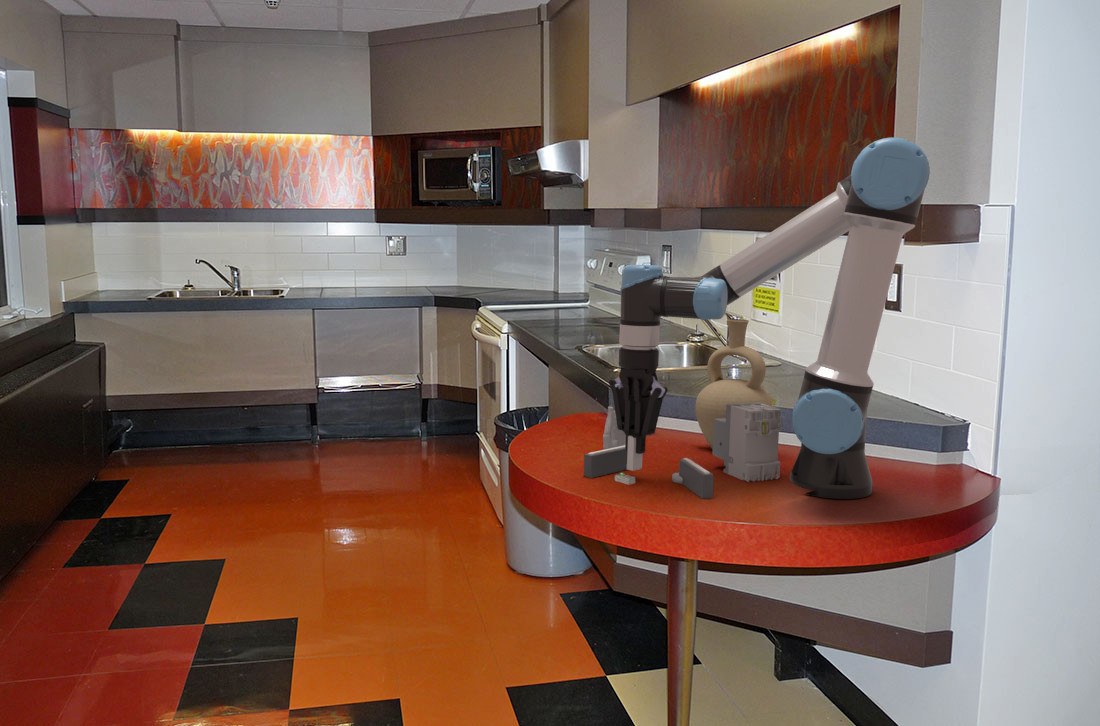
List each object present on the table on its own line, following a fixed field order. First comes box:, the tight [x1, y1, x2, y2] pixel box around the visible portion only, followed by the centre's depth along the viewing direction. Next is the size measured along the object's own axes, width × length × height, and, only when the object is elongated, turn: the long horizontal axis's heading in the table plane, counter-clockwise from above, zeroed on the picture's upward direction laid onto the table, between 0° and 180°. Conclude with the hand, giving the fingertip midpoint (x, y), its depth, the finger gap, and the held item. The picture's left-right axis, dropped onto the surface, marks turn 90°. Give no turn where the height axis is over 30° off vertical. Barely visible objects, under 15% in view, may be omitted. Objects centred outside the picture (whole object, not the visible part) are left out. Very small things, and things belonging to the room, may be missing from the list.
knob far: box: [583, 445, 629, 479], centre depth 182 cm, size 4×14×5 cm, turn 133°
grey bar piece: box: [671, 457, 715, 499], centre depth 170 cm, size 4×14×5 cm, turn 12°
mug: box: [602, 406, 626, 450], centre depth 198 cm, size 8×12×12 cm, turn 145°
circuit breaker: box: [712, 403, 783, 483], centre depth 183 cm, size 8×14×15 cm, turn 21°
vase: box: [695, 318, 773, 450], centre depth 203 cm, size 17×17×30 cm
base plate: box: [614, 472, 636, 486], centre depth 177 cm, size 24×15×3 cm, turn 43°
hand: (634, 468), depth 176 cm, fingers closed
